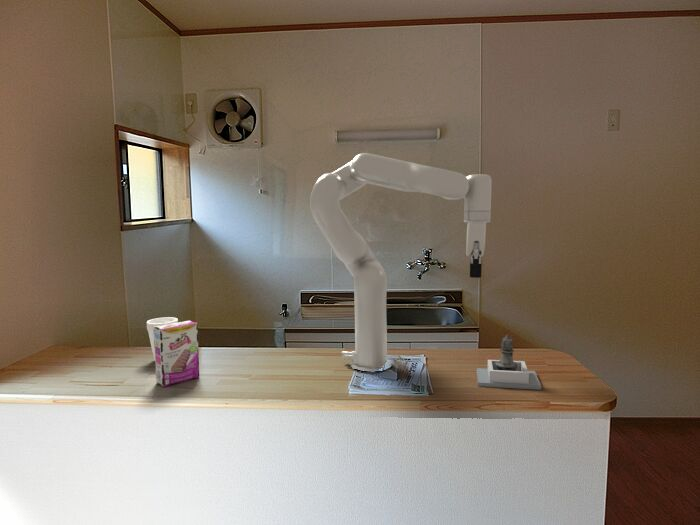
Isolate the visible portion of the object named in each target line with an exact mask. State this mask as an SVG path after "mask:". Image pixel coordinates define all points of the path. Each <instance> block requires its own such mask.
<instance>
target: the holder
mask: <svg viewBox="0 0 700 525" xmlns="http://www.w3.org/2000/svg"><path fill="white" fill-rule="evenodd" d="M500 360H501V359H487V368H484V367H483V368H481V367H478V368H477V367H476V377H477V378H476V380H477V387H487V388H490V387H491V388H502V389H503V388H507V389H525V390H542V384H541V382H540V380H539V377H538V375H537V372H536V371H535V370H528V367H527V365H526V361H523V360H513V362H515V363H517V364H518V366H517V369H516V371H503V370H498V369H497V365H496V362H498V361H500Z"/></svg>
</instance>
